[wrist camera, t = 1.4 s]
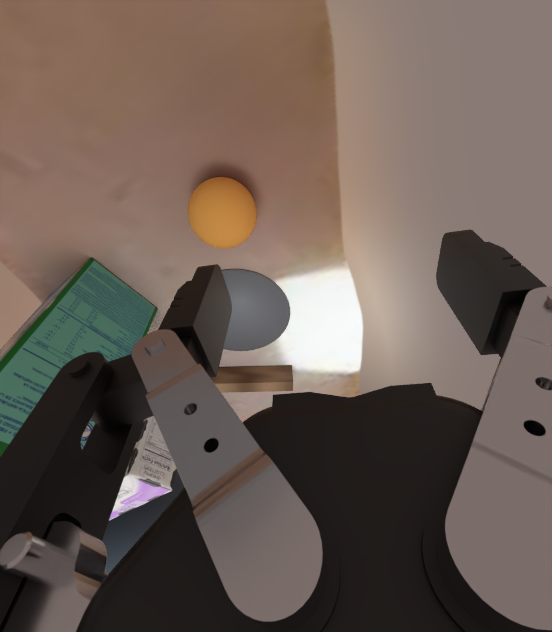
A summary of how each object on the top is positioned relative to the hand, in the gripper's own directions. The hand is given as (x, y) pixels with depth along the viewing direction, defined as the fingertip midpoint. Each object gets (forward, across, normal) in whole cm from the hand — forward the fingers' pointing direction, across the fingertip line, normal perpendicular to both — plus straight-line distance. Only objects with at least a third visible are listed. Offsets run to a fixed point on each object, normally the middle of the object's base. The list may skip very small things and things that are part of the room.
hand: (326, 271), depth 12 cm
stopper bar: (+20, +12, +28) cm, 36 cm away
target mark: (+20, +11, +17) cm, 28 cm away
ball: (+17, +8, +3) cm, 19 cm away
